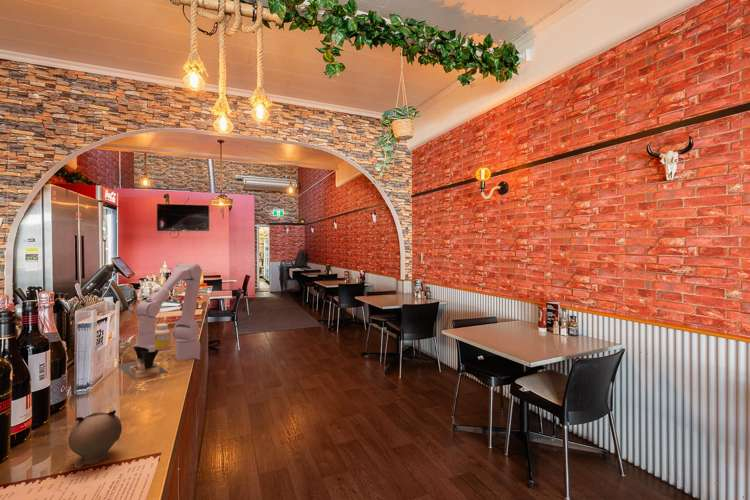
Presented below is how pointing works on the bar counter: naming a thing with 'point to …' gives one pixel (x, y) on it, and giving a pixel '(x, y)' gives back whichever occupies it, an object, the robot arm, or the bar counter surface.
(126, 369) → the mat
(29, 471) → the bar counter surface
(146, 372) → the frame
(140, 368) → the plug
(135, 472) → the bar counter surface
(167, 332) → the supplement bottle
